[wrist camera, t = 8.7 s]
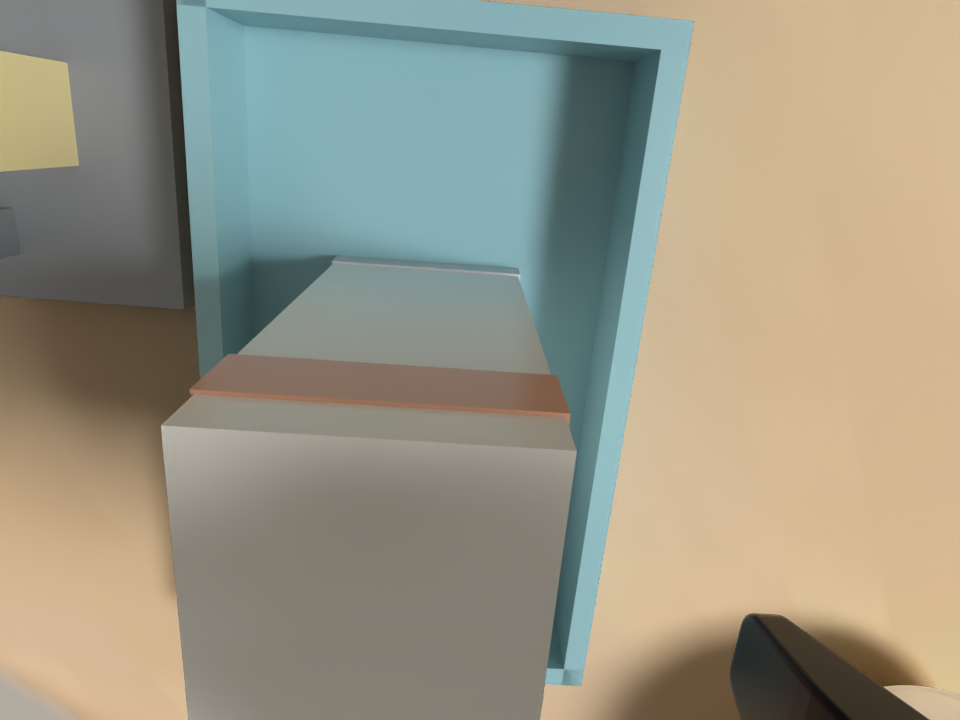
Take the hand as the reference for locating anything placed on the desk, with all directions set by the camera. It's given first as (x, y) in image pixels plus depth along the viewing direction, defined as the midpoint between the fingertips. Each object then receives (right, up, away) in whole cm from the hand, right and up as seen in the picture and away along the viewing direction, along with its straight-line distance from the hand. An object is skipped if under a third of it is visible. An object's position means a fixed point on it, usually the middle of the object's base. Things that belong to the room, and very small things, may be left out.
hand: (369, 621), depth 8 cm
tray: (0, +3, +8) cm, 9 cm away
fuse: (0, +3, +8) cm, 8 cm away
